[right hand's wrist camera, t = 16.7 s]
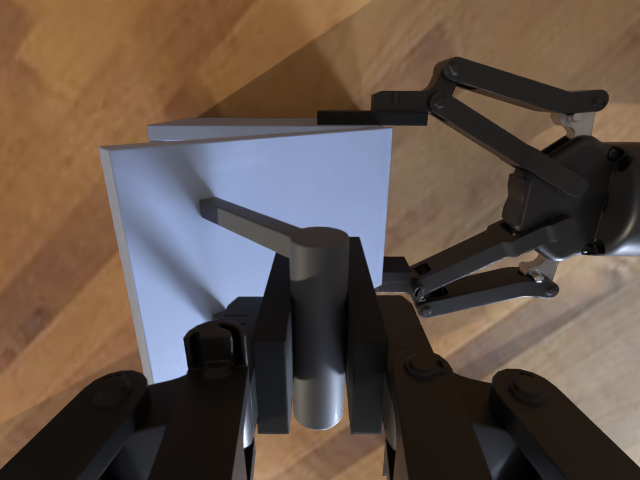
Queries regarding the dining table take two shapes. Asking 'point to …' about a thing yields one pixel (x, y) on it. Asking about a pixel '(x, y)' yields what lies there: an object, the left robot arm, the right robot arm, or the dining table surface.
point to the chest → (234, 127)
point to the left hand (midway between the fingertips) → (317, 198)
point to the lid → (250, 241)
